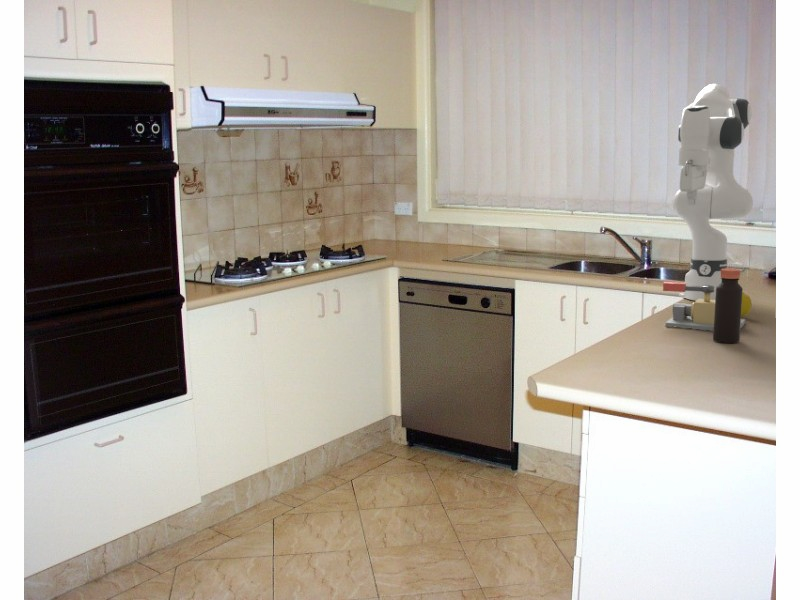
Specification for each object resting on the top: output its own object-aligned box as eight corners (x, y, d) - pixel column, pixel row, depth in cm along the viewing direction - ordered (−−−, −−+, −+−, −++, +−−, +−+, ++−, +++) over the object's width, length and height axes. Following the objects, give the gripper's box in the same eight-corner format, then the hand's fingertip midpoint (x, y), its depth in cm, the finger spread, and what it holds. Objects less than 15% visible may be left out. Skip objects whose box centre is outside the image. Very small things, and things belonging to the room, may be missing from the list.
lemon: (753, 319, 259) (755, 294, 258) (735, 319, 259) (737, 294, 258) (746, 315, 265) (747, 290, 263) (728, 316, 265) (730, 291, 263)
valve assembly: (665, 326, 250) (667, 294, 249) (677, 316, 264) (679, 285, 262) (736, 333, 240) (738, 299, 239) (745, 323, 254) (747, 291, 252)
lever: (663, 289, 257) (664, 281, 256) (714, 291, 251) (714, 283, 251) (662, 291, 253) (663, 283, 253) (713, 293, 248) (714, 285, 248)
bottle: (716, 343, 229) (720, 271, 225) (710, 337, 235) (714, 267, 232) (742, 344, 228) (746, 271, 224) (735, 338, 234) (740, 267, 231)
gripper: (697, 160, 245) (695, 207, 248) (710, 159, 263) (708, 203, 265) (675, 160, 248) (673, 207, 251) (690, 159, 266) (687, 202, 268)
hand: (691, 205), depth 258 cm, fingers closed
